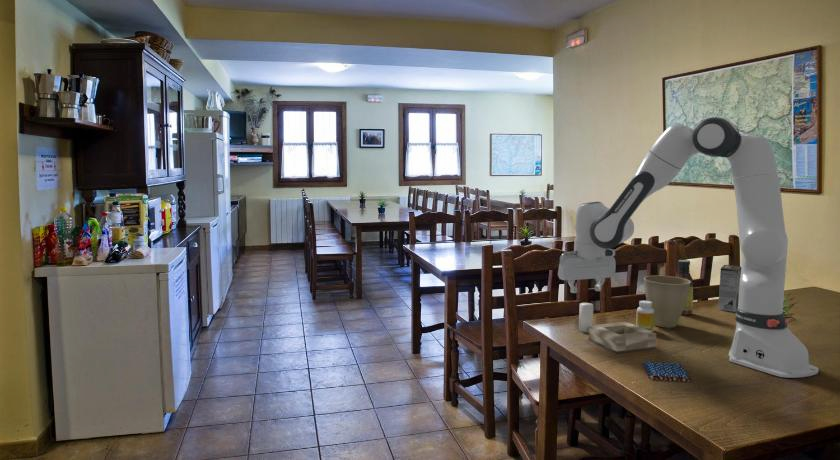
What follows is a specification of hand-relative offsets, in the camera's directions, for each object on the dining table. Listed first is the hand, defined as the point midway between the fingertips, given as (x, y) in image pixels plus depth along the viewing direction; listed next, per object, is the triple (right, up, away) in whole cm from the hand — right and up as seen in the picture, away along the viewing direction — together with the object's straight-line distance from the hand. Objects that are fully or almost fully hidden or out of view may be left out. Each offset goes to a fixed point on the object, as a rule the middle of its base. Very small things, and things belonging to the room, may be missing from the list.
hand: (585, 291), depth 197 cm
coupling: (0, -13, +1) cm, 13 cm away
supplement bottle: (+20, -13, +2) cm, 24 cm away
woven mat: (+11, -19, -38) cm, 44 cm away
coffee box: (+63, -10, +30) cm, 71 cm away
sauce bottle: (+43, -11, +23) cm, 50 cm away
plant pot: (+30, -13, +8) cm, 33 cm away
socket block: (+7, -15, -13) cm, 21 cm away
